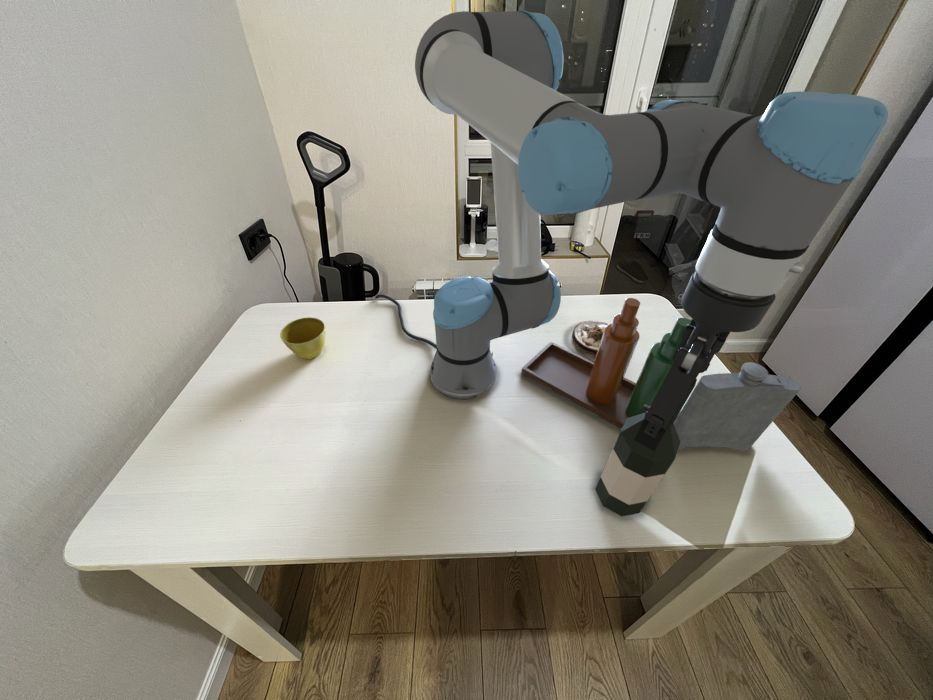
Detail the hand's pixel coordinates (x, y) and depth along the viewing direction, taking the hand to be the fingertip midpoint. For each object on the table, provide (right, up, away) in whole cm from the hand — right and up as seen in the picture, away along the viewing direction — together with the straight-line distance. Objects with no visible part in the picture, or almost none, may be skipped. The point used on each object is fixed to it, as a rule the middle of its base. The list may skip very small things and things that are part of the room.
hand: (659, 420), depth 53 cm
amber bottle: (+3, 0, +30) cm, 30 cm away
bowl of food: (+6, +12, +44) cm, 46 cm away
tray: (+2, 0, +31) cm, 31 cm away
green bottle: (+9, -3, +26) cm, 28 cm away
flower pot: (-66, +9, +42) cm, 78 cm away
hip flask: (+20, -8, +22) cm, 31 cm away
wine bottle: (0, -15, +14) cm, 21 cm away
